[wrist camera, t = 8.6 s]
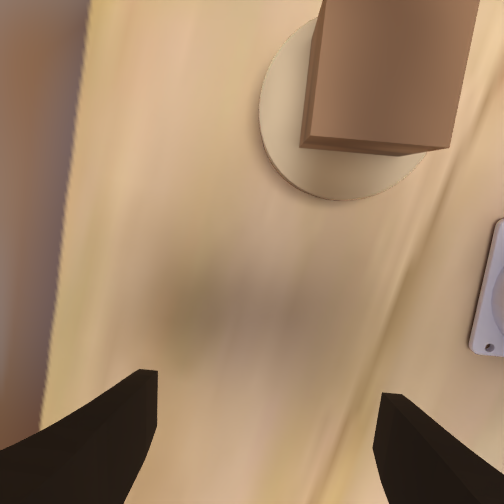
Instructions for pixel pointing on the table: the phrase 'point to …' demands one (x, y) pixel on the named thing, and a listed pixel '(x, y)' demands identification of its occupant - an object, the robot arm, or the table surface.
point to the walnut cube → (386, 75)
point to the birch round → (313, 160)
